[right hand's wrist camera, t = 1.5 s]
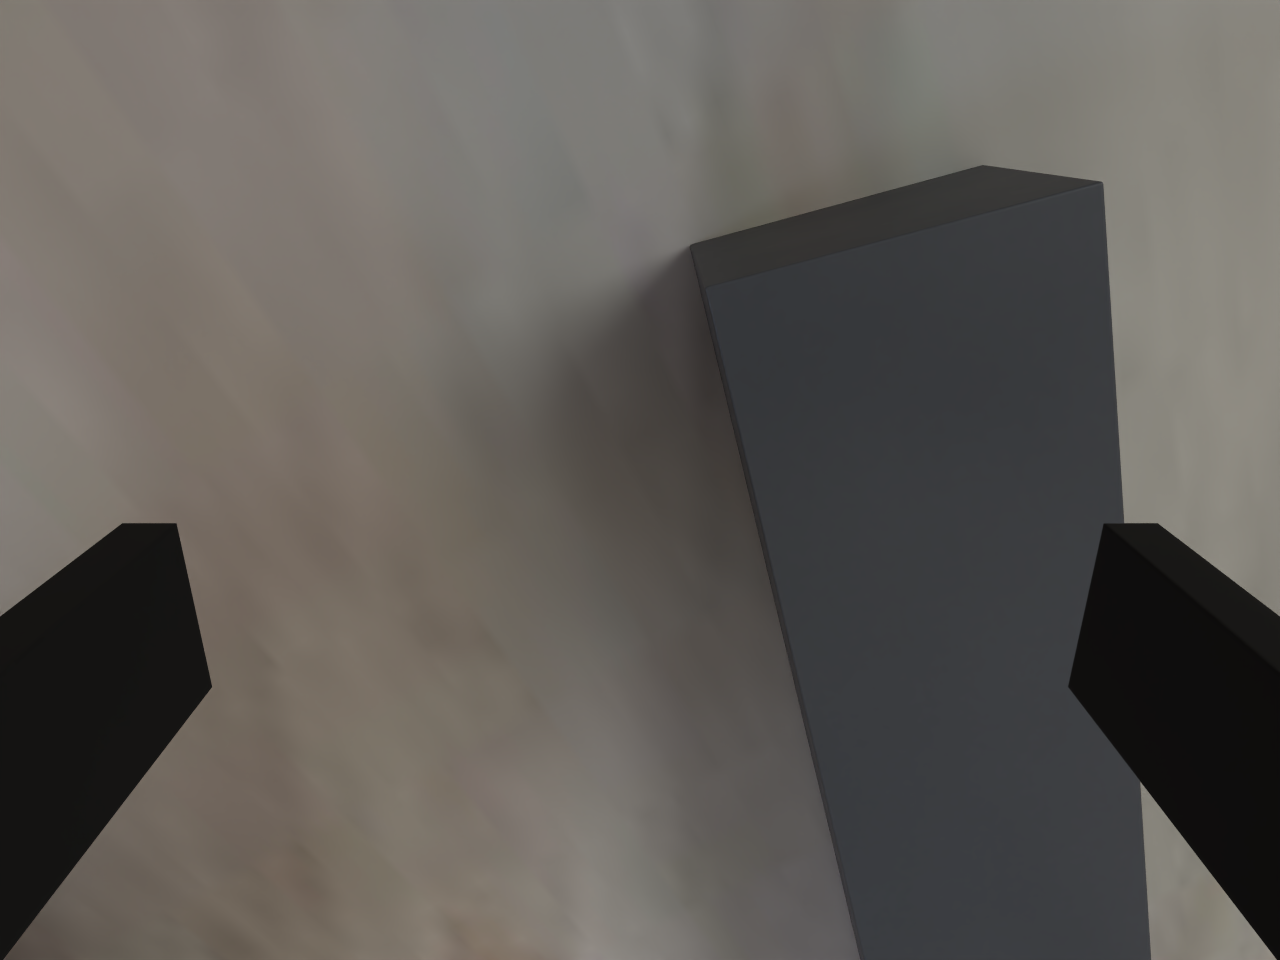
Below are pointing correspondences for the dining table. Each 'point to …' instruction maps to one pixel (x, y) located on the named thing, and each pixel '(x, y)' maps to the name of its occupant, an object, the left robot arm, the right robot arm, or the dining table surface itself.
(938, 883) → the wide beam
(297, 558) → the dining table surface
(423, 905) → the dining table surface
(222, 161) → the dining table surface
